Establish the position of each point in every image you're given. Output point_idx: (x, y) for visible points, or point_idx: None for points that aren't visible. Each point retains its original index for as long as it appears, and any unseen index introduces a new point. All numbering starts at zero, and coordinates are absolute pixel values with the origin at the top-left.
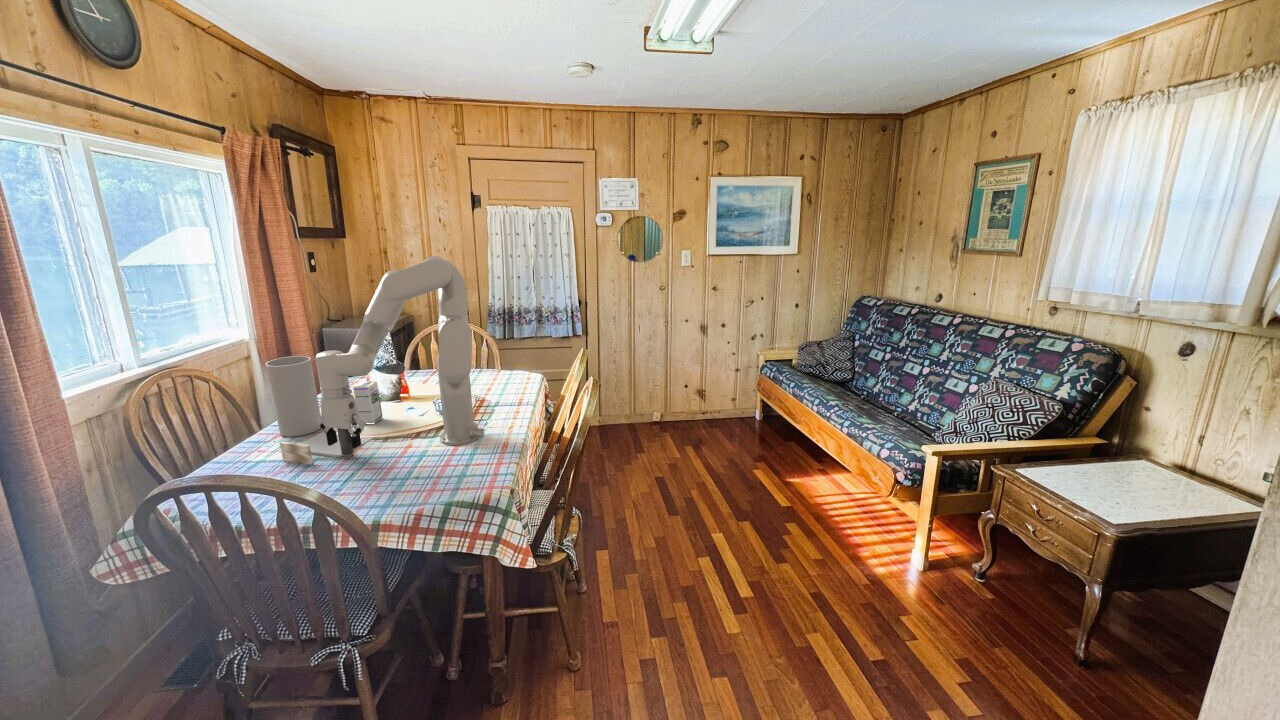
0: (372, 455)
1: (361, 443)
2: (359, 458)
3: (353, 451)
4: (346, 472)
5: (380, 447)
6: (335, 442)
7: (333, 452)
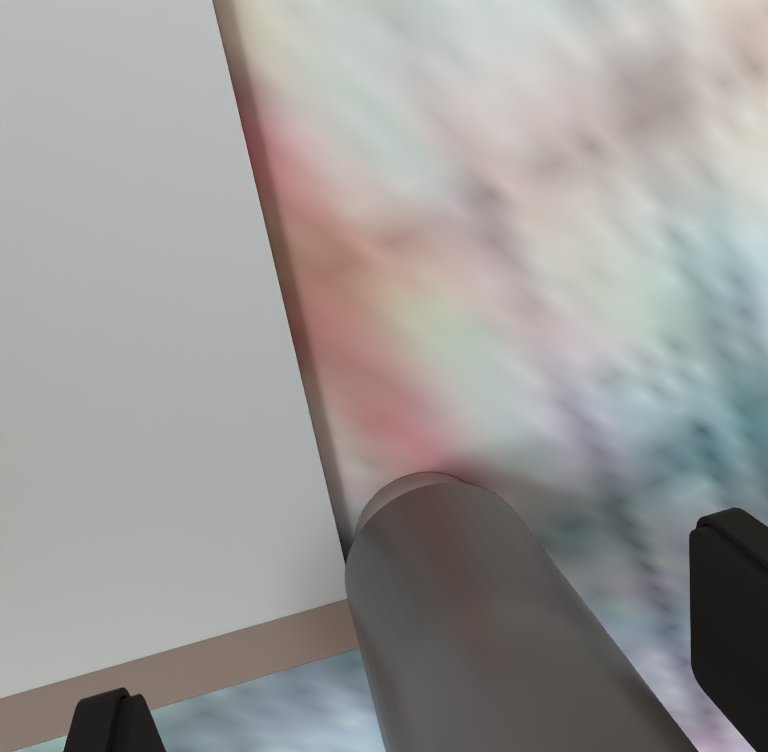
0: (739, 352)
1: (205, 118)
2: (633, 498)
3: (524, 524)
4: (746, 747)
5: (662, 70)
6: (157, 741)
7: (108, 607)
